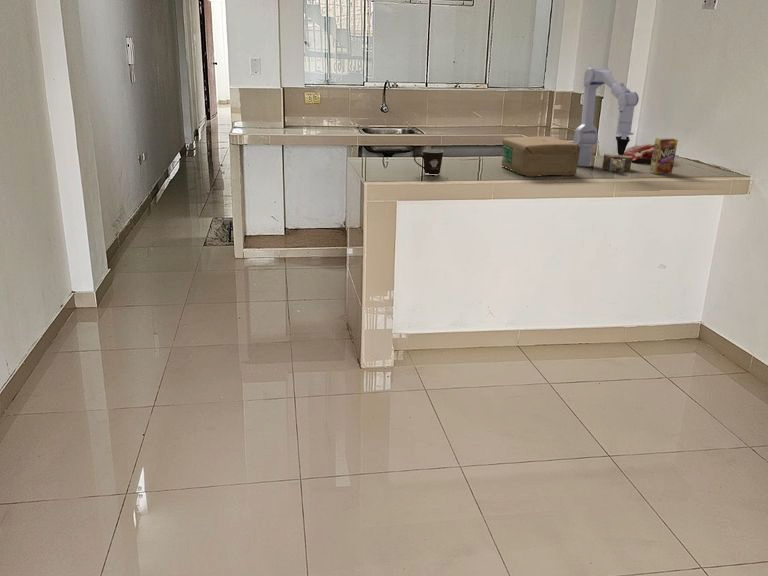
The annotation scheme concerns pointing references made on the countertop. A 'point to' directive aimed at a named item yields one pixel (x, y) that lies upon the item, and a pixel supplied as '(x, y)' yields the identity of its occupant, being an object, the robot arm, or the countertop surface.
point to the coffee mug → (431, 161)
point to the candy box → (663, 156)
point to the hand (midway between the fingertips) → (620, 154)
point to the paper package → (540, 155)
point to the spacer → (612, 164)
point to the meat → (640, 151)
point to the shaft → (617, 166)
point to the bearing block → (617, 157)
